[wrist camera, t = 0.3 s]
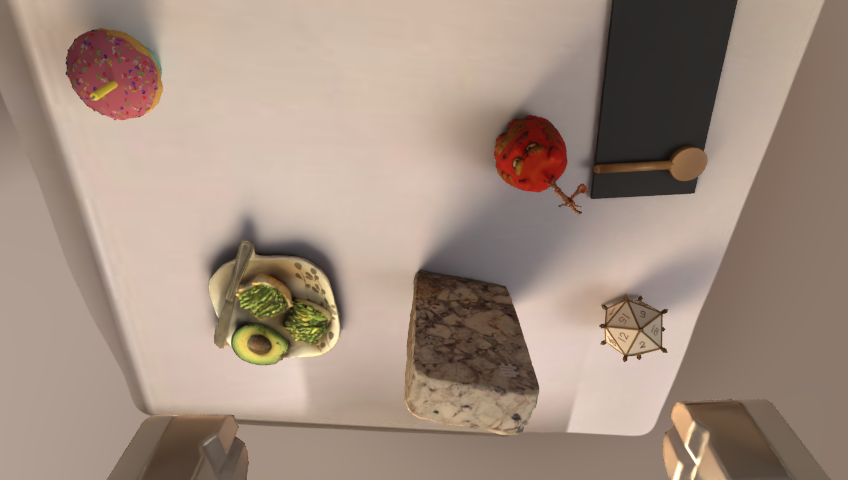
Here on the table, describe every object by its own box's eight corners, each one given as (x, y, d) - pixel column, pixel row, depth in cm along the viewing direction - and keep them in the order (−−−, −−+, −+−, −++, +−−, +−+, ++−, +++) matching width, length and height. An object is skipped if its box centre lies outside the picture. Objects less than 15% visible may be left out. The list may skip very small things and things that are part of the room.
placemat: (618, -56, 46) (620, -56, 46) (749, -65, 46) (752, -65, 45) (590, 197, 59) (591, 199, 59) (692, 191, 59) (694, 193, 58)
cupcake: (177, 33, 50) (112, 52, 40) (182, 114, 55) (123, 151, 44) (90, 16, 50) (0, 31, 39) (101, 100, 54) (22, 133, 43)
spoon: (590, 183, 58) (593, 187, 57) (594, 150, 56) (597, 153, 55) (699, 177, 57) (703, 180, 56) (707, 144, 55) (711, 147, 54)
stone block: (514, 277, 65) (545, 392, 47) (502, 318, 68) (528, 441, 51) (414, 264, 64) (409, 378, 47) (407, 307, 67) (400, 428, 50)
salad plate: (186, 236, 62) (169, 255, 58) (327, 230, 62) (319, 248, 58) (225, 353, 72) (213, 376, 68) (347, 348, 71) (342, 371, 67)
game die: (627, 290, 70) (693, 334, 64) (589, 336, 71) (651, 384, 64) (614, 269, 63) (686, 316, 57) (571, 320, 64) (639, 373, 57)
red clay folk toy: (522, 99, 53) (553, 144, 40) (571, 134, 55) (615, 188, 42) (480, 154, 57) (495, 213, 44) (527, 186, 59) (556, 251, 45)
